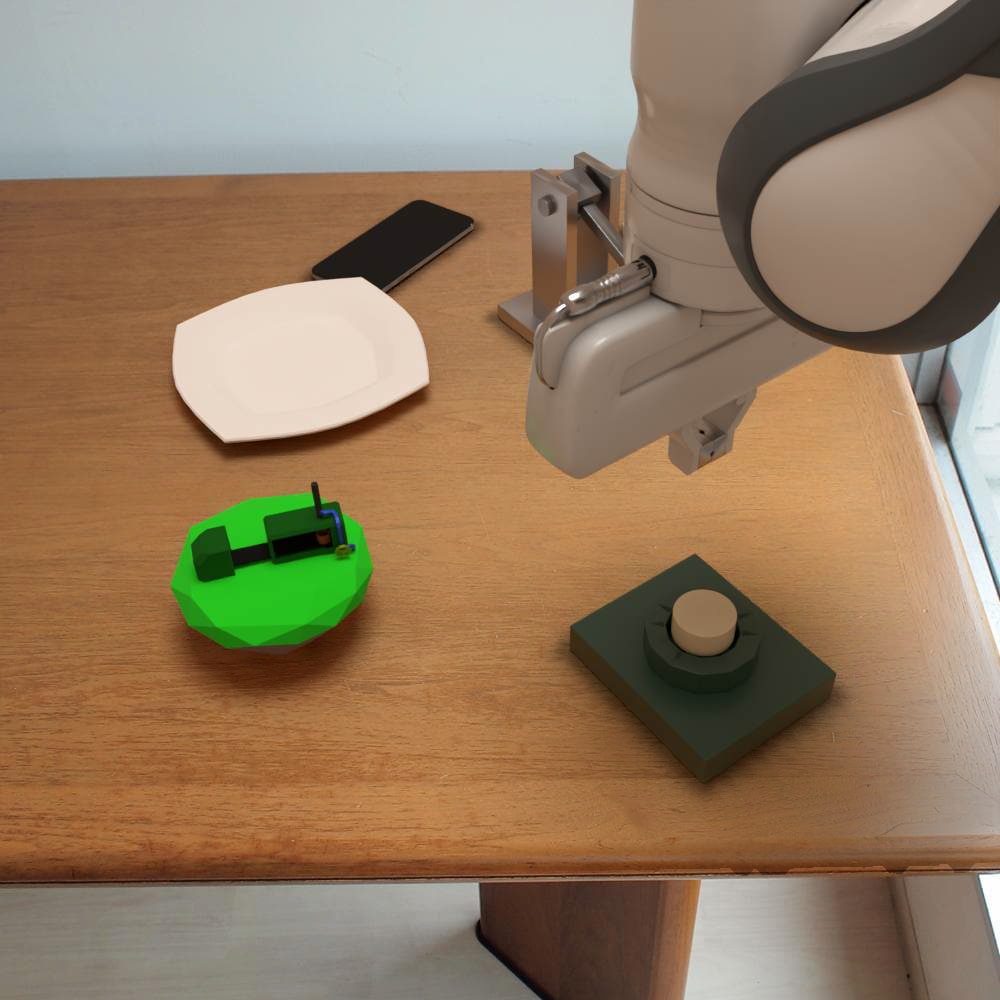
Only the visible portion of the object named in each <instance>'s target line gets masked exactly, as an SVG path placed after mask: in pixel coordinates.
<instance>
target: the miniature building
mask: <svg viewBox="0 0 1000 1000" xmlns="http://www.w3.org/2000/svg"><path fill="white" fill-rule="evenodd" d="M310 489H311V492H303V493H295V494H293V493H292V494H284V495H274V496H273V495H272V496H265V497H264V496H263V497H252V498H247V499H245V500H243V501H241V502H238V503H237V504H234V505H233V506H230V507H229V508H226V509H225V510H223V511H220V512H219V513H217V514H215V515H213V516H210V517H208V518H206V519H204V520H202V521H200V522H197V523H196V524H194V525H192V526H190V527H189V530H188V532H187V535H186V537H185V538H186V539H185V542H184V544H183V547H182V549H181V553H180V556H179V559H178V562H177V565H176V567H175V570H174V573H173V576H172V579H171V582H170V585H169V587H170V589H171V592H172V594H173V595H174V598H175V600H176V602H177V604H178V607H179V608H180V610H181V613H182V615H183V617H184V619H185V621H186V624H187V625H188V626H189V627H190V628H192V629H193V630H195V631H197V632H198V633H200V634H202V635H204V636H205V637H207V638H208V639H210V640H212V641H214V642H215V643H217V644H219V645H220V646H222V647H223V648H225V649H229V650H238V651H246V652H253V653H261V654H262V653H263V654H272V655H278V656H279V655H280V656H284V655H286V654H289V653H290V652H294V651H295V650H298V649H299V648H302V647H304V646H306V645H308V644H310V643H312V642H314V641H316V640H317V639H318V638H320V637H321V636H323V635H324V634H326V633H327V632H330V631H331V630H332V629H333V628H335V627H337V625H338V624H340V622H342V621H343V620H344V619H345V618H347V616H348V615H349V614H351V613H352V612H353V611H354V610H355V609H356V608H357V607H358V606H359V605H361V604H362V603H363V602H364V598H365V596H366V593H367V590H368V587H369V584H370V581H371V578H372V575H373V572H374V566H373V565H374V564H373V561H372V558H371V554H370V551H369V547H368V543H367V540H366V537H365V532H364V529H363V527H362V525H361V524H360V523H359V522H357V521H356V520H355V519H353V518H351V517H350V516H349V515H347V514H345V513H344V512H343V511H342V509H341V504H340V502H339V501H336V500H334V501H330V502H328V501H327V500H326V499H324V498H323V497H322V496H321V494H320V490H319V482H317V481H312V482H310Z"/></svg>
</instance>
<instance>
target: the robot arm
mask: <svg viewBox="0 0 1000 1000" xmlns="http://www.w3.org/2000/svg"><path fill="white" fill-rule="evenodd" d="M630 35H631V36H630V54H629V55H630V58H629V61H630V62H629V65H630V74H631V79H632V83H633V86H634V90H635V94H636V100H637V115H636V116H637V117H636V120H635V121H636V122H635V125H634V129H633V132H632V135H631V137H630V139H629V143H628V147H627V151H626V161H625V165H626V166H625V185H624V207H623V208H624V215H623V216H624V217H623V222H624V236H623V235H622V238H623V259H624V263H625V265H624V266H622V267H620V266H618V267H617V269H615V270H613V271H611V272H609V273H608V274H606V275H605V276H603V277H602V278H600V279H598V280H596V281H594V282H591V283H589V284H582V285H579V286H577V287H574V288H572V289H570V290H569V291H567V292H566V293H565V294H563V295H562V296H561V297H560V299H559V305H558V306H557V307H556V308H555V309H553V310H552V312H551V313H550V314H549V315H548V316H547V317H546V319H545V320H544V322H542V323H540V324H539V325H538V327H537V329H536V332H535V335H534V345H533V352H532V357H531V364H530V369H529V376H528V384H527V392H526V393H527V394H526V405H525V421H524V422H525V423H524V426H525V435H526V438H527V441H528V442H529V443H530V445H531V446H532V448H533V449H534V450H535V451H536V452H537V453H538V454H539V455H540V456H541V457H542V458H544V459H545V460H546V461H547V462H548V463H549V464H551V465H552V466H553V467H555V468H556V469H557V470H559V471H561V472H562V473H564V474H566V475H567V476H568V477H571V478H572V479H575V480H582V479H586V478H587V477H590V476H592V475H595V474H596V473H598V472H599V471H601V470H603V469H605V468H607V467H609V466H610V465H613V464H615V463H616V462H617V463H618V462H619V461H620V460H623V459H624V458H625V457H628V456H629V455H632V454H634V453H636V452H638V451H640V450H641V449H643V448H645V447H647V446H649V445H651V444H653V443H654V442H656V441H658V440H660V439H662V438H664V437H666V436H668V447H667V448H668V450H667V456H668V460H669V461H670V463H671V464H672V465H673V466H674V467H676V468H677V469H678V470H679V471H681V472H682V473H683V474H684V475H686V476H690V475H691V474H694V473H695V472H697V471H699V470H700V469H702V468H703V467H706V466H707V465H709V464H711V463H713V462H715V461H716V460H719V459H721V458H722V457H724V456H725V455H726V456H727V455H728V454H730V453H731V452H732V451H733V446H734V440H735V439H734V438H735V430H736V429H738V428H739V425H740V424H741V422H742V421H743V419H744V417H745V416H746V414H747V412H748V411H749V410H750V408H751V406H752V405H753V403H754V401H755V399H756V398H757V393H758V388H760V387H761V386H763V385H765V384H767V383H769V382H771V381H773V380H775V379H777V378H778V377H780V376H782V375H785V374H786V373H788V372H790V371H791V370H794V369H795V368H797V367H799V366H801V365H803V364H804V363H807V362H809V361H810V360H813V359H814V358H817V357H818V356H820V355H823V354H824V353H826V352H828V351H830V350H831V349H833V348H836V347H837V348H842V349H845V350H849V351H855V352H860V353H867V354H872V355H873V354H874V355H882V356H883V355H886V356H890V355H891V356H900V355H901V356H902V355H913V354H919V353H924V352H928V351H932V350H935V349H939V348H942V347H944V346H947V345H949V344H951V343H953V342H955V341H958V340H959V339H961V338H963V337H965V336H966V335H967V334H969V333H970V332H972V331H973V330H975V329H976V328H977V327H979V326H980V325H981V324H982V323H983V322H984V321H985V320H986V319H987V318H988V317H989V316H990V315H991V314H992V313H993V312H994V311H995V309H996V308H997V307H998V305H999V304H1000V0H633V4H632V17H631V34H630Z"/></svg>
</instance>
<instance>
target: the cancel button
mask: <svg viewBox="0 0 1000 1000" xmlns="http://www.w3.org/2000/svg"><path fill="white" fill-rule="evenodd" d="M736 621H737V612H736V609H735V606H734V605H733V603H732V602H731V601H730V600H729V599H728V598H727V597H725V596H724V595H722V594H720V593H718V592H715V591H711V590H703V589H702V590H693V591H690V592H687V593H685V594H683V595H682V596H681V597H679V598H678V600H677V601H676V602H675V604H674V607H673V614H672V624H671V634H672V637H673V639H674V641H675V643H676V644H677V645H678V646H679V647H680V648H681V649H683V650H684V651H686V652H688V653H690V654H693V655H697V656H714V655H718V654H720V653H722V652H724V651H725V650H727V649H728V648H729V647H730V645H731V644H732V642H733V639H734V634H735V628H736Z"/></svg>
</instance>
